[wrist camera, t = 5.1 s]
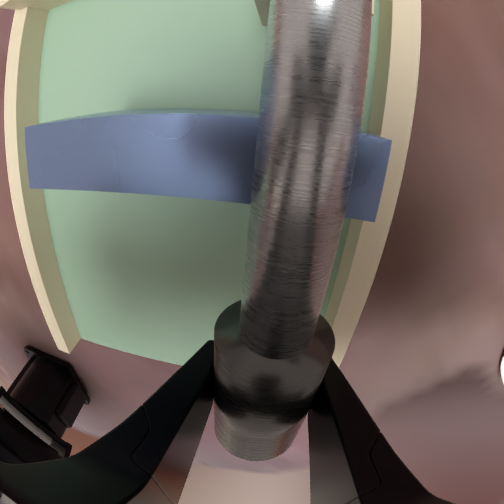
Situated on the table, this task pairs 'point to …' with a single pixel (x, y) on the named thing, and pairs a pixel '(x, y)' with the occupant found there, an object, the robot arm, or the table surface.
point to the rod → (255, 202)
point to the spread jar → (502, 369)
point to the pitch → (168, 207)
